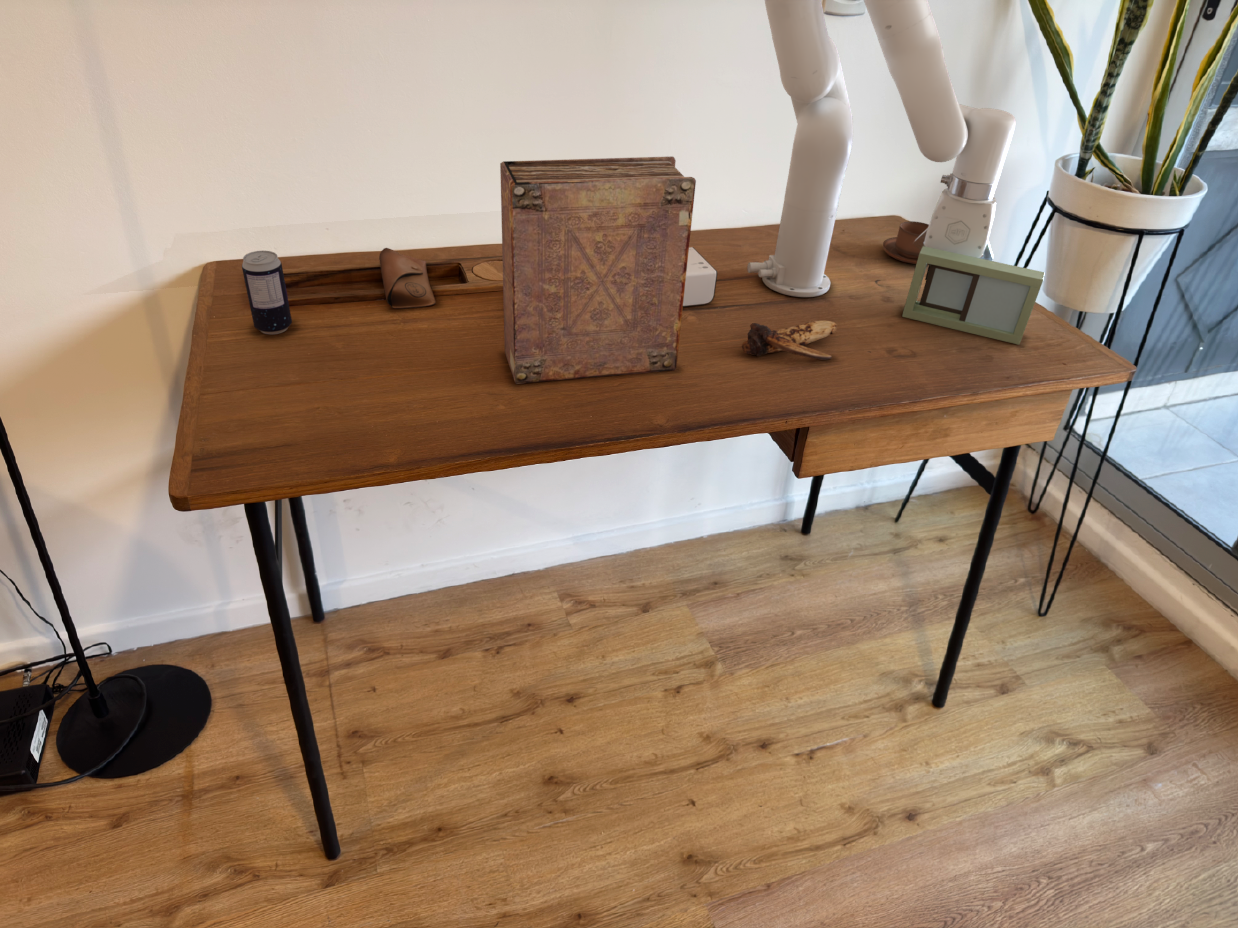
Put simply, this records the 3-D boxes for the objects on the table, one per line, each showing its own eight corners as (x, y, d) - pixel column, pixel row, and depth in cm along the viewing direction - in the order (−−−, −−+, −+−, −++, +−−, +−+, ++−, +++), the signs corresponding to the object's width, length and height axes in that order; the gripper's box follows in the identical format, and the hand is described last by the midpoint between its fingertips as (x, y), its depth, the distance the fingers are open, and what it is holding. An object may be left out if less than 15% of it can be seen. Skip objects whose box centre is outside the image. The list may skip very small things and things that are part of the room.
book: (658, 342, 144) (676, 156, 126) (676, 370, 137) (698, 178, 119) (503, 354, 137) (500, 161, 120) (514, 385, 130) (511, 184, 113)
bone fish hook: (763, 377, 138) (855, 355, 144) (768, 351, 135) (862, 330, 141) (732, 347, 144) (821, 328, 151) (736, 322, 141) (827, 303, 148)
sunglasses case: (439, 303, 149) (416, 273, 145) (404, 325, 150) (380, 295, 145) (426, 260, 163) (404, 231, 158) (394, 280, 163) (372, 252, 159)
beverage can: (300, 325, 141) (288, 254, 134) (275, 340, 137) (261, 267, 130) (272, 317, 143) (259, 246, 136) (246, 331, 139) (231, 259, 131)
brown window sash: (918, 306, 157) (931, 261, 152) (925, 290, 162) (937, 247, 157) (970, 318, 154) (985, 273, 149) (975, 302, 159) (990, 258, 154)
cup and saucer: (878, 242, 185) (885, 214, 181) (936, 249, 184) (944, 220, 180) (883, 265, 175) (891, 236, 171) (945, 272, 174) (954, 243, 170)
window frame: (901, 316, 157) (919, 253, 150) (905, 308, 160) (922, 246, 152) (1019, 345, 151) (1043, 280, 144) (1020, 336, 153) (1044, 272, 146)
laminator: (526, 324, 146) (526, 289, 142) (509, 292, 155) (509, 259, 152) (713, 304, 156) (718, 271, 153) (686, 275, 165) (690, 244, 162)
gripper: (918, 184, 149) (892, 284, 160) (1021, 204, 144) (986, 306, 155) (925, 172, 155) (899, 269, 165) (1024, 191, 149) (991, 290, 160)
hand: (942, 286), depth 160 cm, fingers open, 3 cm apart
